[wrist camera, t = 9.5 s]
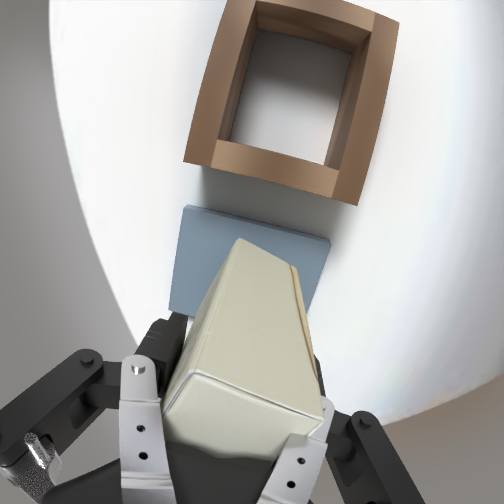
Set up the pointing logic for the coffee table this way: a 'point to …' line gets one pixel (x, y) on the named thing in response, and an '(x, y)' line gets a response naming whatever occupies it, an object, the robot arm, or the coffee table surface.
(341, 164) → the pocket block
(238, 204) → the coffee table surface
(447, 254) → the coffee table surface
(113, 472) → the robot arm
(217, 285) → the skincare box
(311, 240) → the pad
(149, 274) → the coffee table surface
